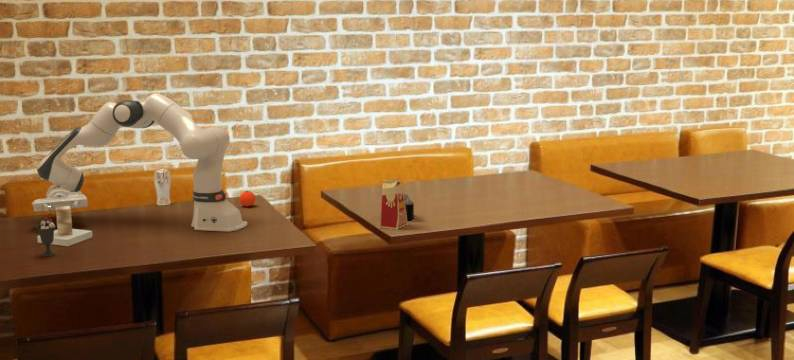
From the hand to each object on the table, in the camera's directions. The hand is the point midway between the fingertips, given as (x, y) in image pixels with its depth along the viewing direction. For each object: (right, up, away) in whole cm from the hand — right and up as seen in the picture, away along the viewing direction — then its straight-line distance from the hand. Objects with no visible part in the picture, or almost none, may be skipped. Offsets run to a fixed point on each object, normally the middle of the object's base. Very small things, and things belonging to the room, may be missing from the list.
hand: (61, 207), depth 370 cm
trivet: (+5, -12, -9) cm, 16 cm away
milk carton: (+129, -8, +10) cm, 129 cm away
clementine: (+65, -1, +46) cm, 80 cm away
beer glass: (+27, 0, +51) cm, 58 cm away
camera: (+134, -5, +25) cm, 136 cm away
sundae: (+5, -16, -28) cm, 33 cm away
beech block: (+5, -10, -9) cm, 14 cm away
